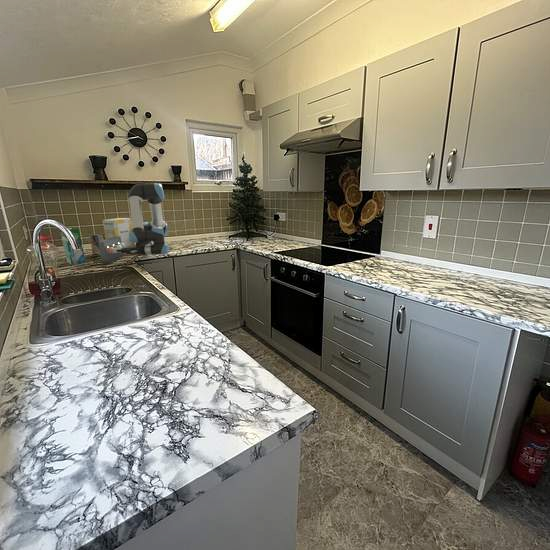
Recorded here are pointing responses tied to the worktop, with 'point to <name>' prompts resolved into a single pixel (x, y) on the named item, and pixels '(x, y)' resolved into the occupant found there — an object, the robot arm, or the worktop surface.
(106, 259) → the button panel
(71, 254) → the milk carton
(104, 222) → the pasta box
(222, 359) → the worktop surface
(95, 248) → the coffee box
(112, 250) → the terracotta button
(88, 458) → the worktop surface
